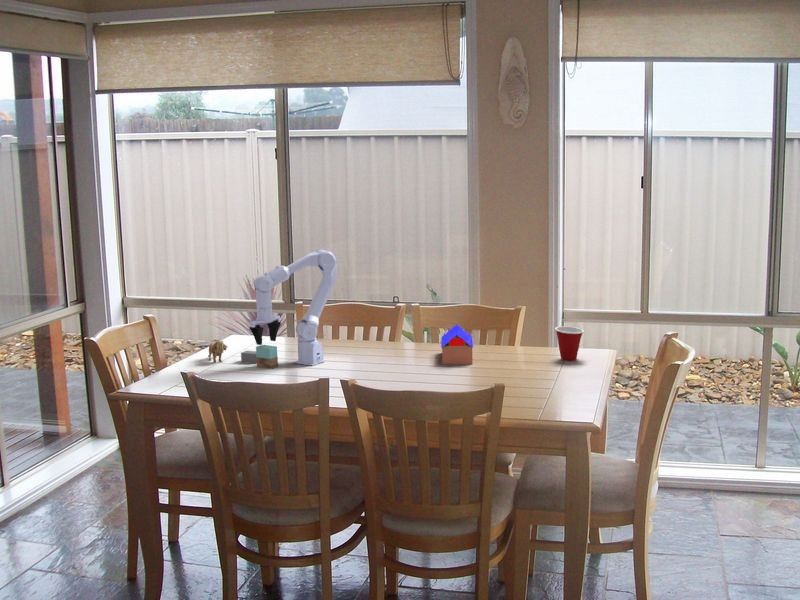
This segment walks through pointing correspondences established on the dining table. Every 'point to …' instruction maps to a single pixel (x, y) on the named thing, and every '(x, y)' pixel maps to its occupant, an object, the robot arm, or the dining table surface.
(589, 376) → the dining table surface
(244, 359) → the gray brick
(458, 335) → the house
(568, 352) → the plastic cup
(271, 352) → the teal brick
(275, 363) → the walnut brick
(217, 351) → the lion figurine
